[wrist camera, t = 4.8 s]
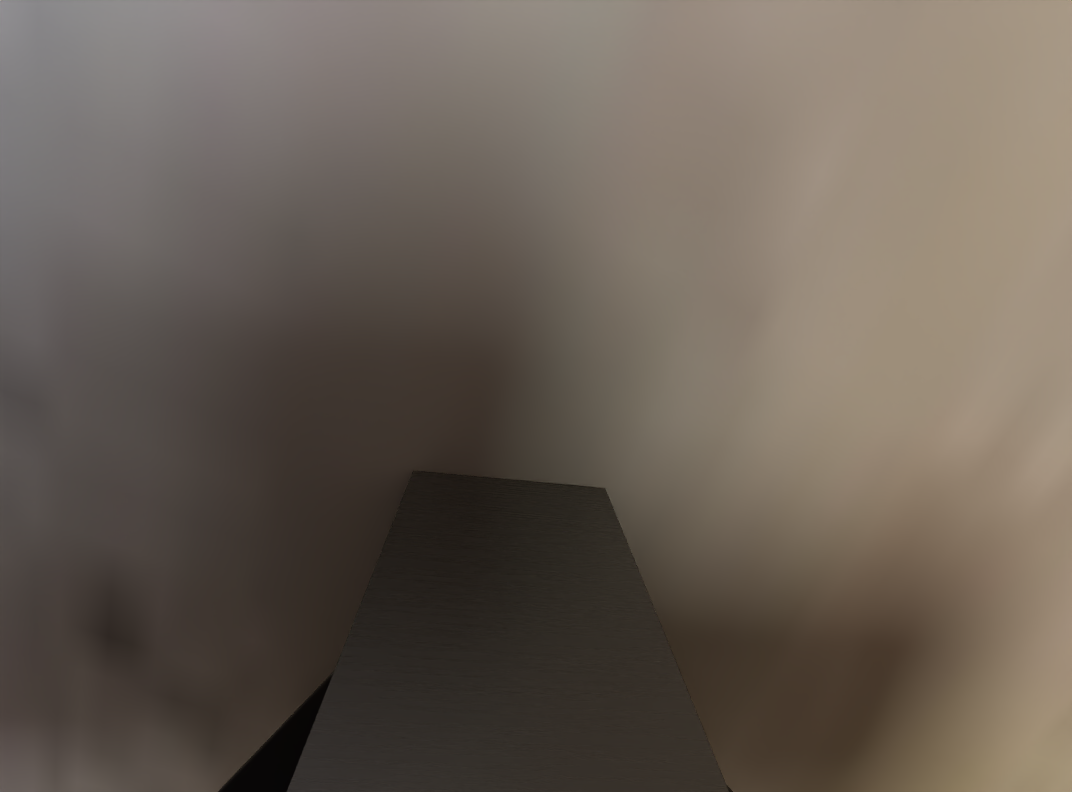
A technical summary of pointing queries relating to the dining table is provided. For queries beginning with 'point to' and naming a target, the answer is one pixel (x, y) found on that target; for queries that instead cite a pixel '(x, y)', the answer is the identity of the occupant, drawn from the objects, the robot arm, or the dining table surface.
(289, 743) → the robot arm
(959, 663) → the dining table surface
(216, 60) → the dining table surface
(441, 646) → the blade tool
